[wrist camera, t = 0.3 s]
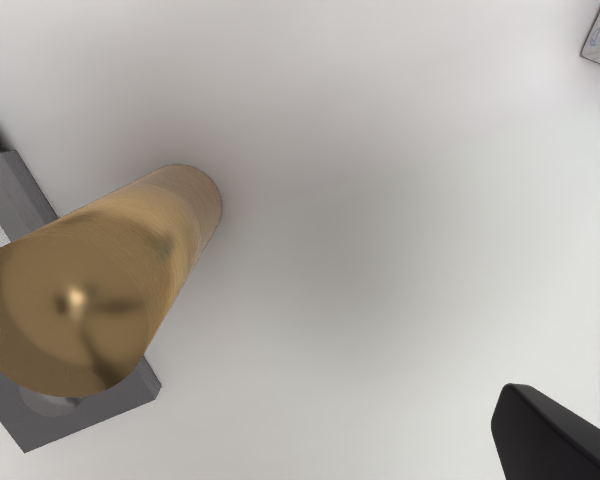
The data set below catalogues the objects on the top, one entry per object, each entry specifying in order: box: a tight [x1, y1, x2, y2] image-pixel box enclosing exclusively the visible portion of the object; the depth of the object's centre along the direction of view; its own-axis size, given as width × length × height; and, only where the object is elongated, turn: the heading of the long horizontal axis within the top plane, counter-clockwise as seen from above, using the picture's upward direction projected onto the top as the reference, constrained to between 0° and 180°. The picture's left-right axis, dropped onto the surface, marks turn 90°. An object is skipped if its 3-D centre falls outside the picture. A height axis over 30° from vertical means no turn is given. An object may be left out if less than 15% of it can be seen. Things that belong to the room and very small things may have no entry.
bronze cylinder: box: [0, 164, 222, 398], centre depth 16 cm, size 4×4×12 cm
